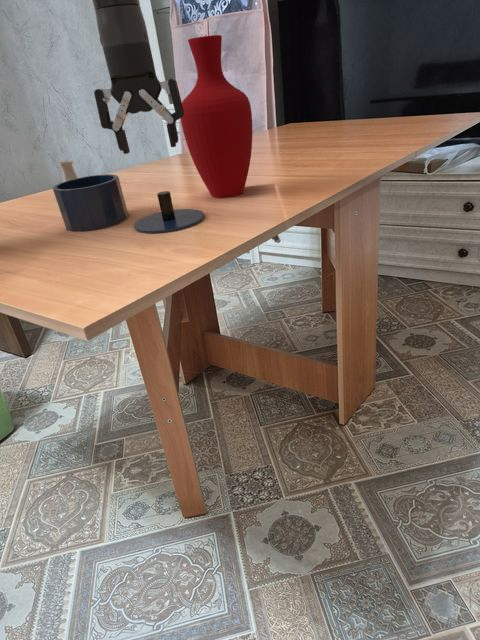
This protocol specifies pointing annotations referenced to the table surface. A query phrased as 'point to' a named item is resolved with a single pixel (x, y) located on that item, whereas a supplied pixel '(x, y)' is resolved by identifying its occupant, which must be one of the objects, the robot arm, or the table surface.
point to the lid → (168, 217)
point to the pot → (91, 202)
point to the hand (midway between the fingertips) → (150, 149)
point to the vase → (217, 123)
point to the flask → (67, 170)
